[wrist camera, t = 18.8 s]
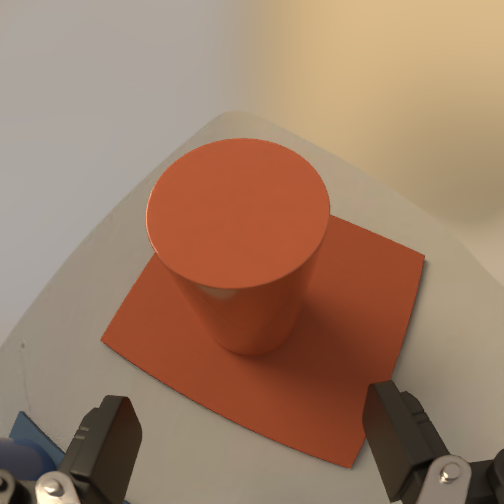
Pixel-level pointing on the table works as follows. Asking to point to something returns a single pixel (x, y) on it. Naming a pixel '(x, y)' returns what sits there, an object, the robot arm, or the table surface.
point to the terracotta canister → (240, 237)
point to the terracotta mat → (286, 345)
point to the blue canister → (24, 459)
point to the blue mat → (37, 438)
